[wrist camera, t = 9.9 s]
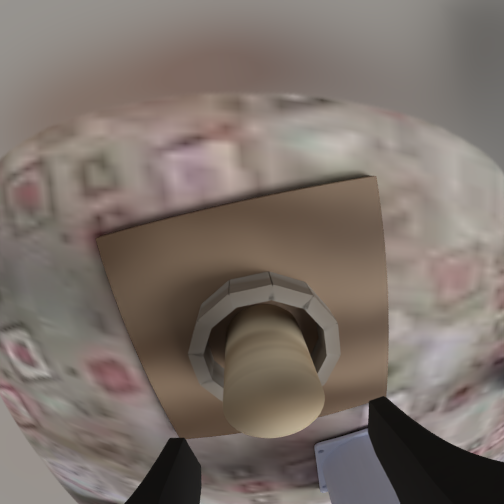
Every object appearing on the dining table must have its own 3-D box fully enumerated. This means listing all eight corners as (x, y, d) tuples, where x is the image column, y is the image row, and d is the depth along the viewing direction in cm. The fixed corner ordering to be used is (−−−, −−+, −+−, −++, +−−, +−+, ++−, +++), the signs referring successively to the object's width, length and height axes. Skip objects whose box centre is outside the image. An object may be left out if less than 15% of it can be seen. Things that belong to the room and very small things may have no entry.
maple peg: (304, 358, 18) (327, 426, 12) (235, 372, 18) (236, 444, 12) (294, 296, 17) (320, 356, 11) (217, 313, 17) (210, 379, 11)
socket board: (382, 390, 20) (396, 412, 18) (181, 432, 21) (177, 458, 18) (370, 175, 16) (393, 177, 14) (101, 235, 16) (79, 247, 14)
